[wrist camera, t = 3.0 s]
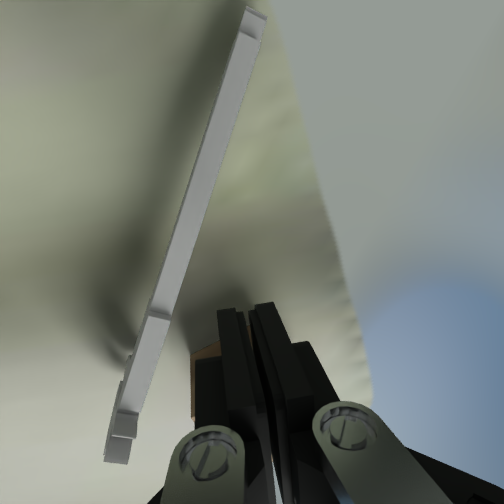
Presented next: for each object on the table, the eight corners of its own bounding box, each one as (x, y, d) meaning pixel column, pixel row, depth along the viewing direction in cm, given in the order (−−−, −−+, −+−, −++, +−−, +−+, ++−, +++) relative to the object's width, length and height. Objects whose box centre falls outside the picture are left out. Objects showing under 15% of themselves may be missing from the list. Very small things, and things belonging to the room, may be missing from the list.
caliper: (137, 387, 22) (120, 488, 16) (118, 384, 21) (94, 486, 16) (266, 18, 16) (313, -32, 10) (242, 6, 16) (277, -53, 10)
